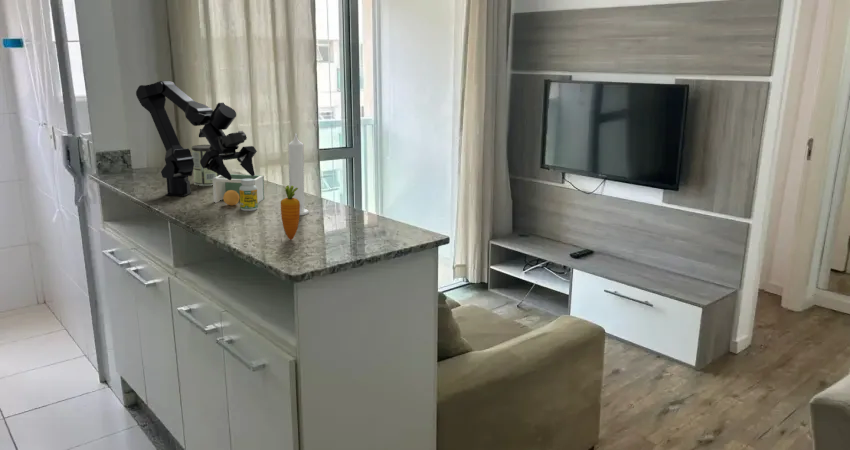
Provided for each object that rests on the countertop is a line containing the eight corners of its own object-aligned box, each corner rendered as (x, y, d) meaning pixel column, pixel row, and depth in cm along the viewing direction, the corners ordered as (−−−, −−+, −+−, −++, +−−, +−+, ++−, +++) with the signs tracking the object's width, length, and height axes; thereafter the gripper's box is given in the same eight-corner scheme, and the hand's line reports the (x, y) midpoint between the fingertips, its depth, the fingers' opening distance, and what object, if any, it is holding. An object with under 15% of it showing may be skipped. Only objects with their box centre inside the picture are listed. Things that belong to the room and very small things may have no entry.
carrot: (282, 237, 169) (281, 182, 165) (301, 237, 169) (300, 183, 165) (280, 242, 164) (278, 186, 160) (299, 242, 164) (298, 186, 160)
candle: (312, 211, 198) (312, 132, 192) (301, 216, 191) (300, 134, 185) (293, 209, 200) (291, 131, 194) (281, 214, 193) (279, 133, 187)
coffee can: (210, 180, 242) (208, 143, 239) (228, 183, 237) (226, 146, 233) (187, 183, 234) (185, 146, 230) (205, 187, 228) (203, 149, 225)
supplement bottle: (254, 206, 202) (253, 177, 199) (260, 210, 198) (259, 180, 195) (237, 208, 199) (236, 178, 197) (243, 211, 195) (242, 181, 192)
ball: (221, 206, 200) (220, 191, 199) (226, 203, 205) (226, 188, 204) (236, 207, 200) (236, 192, 199) (241, 204, 205) (241, 189, 204)
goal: (213, 202, 205) (212, 178, 203) (224, 196, 214) (223, 173, 212) (255, 204, 205) (254, 180, 203) (264, 198, 214) (263, 175, 212)
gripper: (203, 124, 188) (230, 164, 185) (251, 121, 203) (276, 158, 200) (188, 148, 194) (214, 187, 191) (236, 143, 209) (260, 179, 206)
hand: (242, 177), depth 197 cm, fingers open, 9 cm apart
